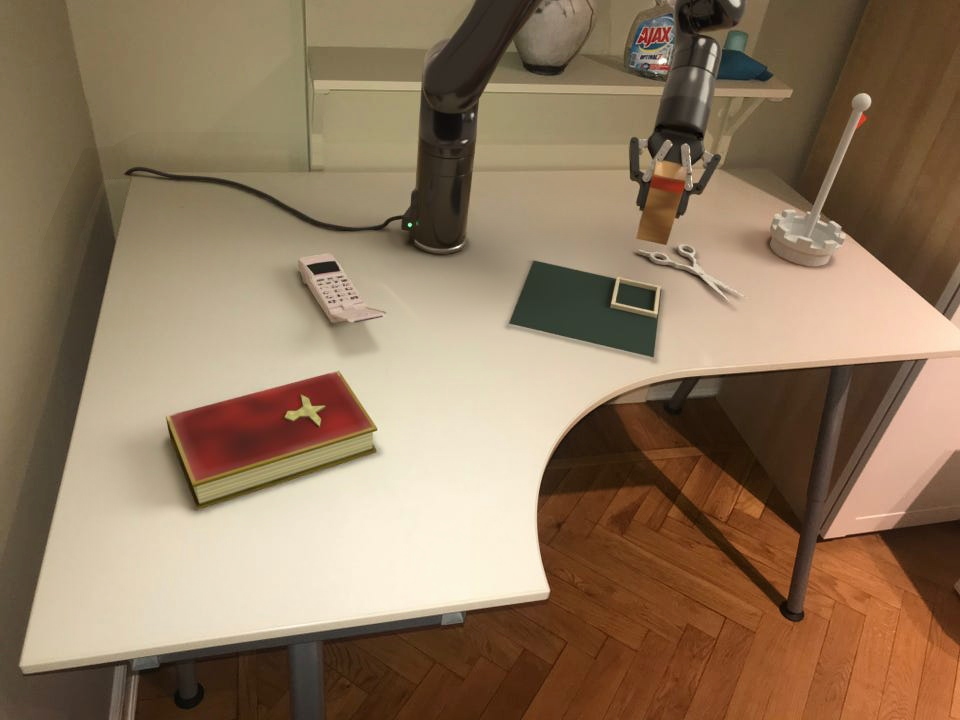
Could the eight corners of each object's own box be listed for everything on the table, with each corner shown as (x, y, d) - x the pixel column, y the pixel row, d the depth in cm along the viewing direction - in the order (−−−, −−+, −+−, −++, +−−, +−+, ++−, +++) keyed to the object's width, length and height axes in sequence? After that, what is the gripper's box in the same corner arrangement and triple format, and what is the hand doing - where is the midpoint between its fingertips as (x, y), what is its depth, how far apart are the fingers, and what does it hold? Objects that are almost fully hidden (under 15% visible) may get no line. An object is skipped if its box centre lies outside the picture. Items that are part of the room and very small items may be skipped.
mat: (508, 325, 115) (509, 318, 114) (533, 262, 131) (534, 256, 130) (652, 360, 112) (655, 353, 112) (660, 291, 128) (662, 284, 127)
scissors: (680, 239, 142) (763, 293, 129) (679, 242, 142) (761, 297, 130) (638, 249, 137) (719, 307, 124) (637, 253, 137) (718, 311, 125)
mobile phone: (348, 321, 102) (290, 232, 118) (347, 356, 105) (291, 265, 122) (389, 313, 104) (327, 227, 121) (387, 348, 108) (327, 259, 124)
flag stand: (812, 276, 138) (884, 113, 119) (751, 244, 145) (810, 86, 127) (847, 257, 145) (919, 101, 127) (787, 228, 152) (848, 76, 134)
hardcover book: (169, 438, 90) (164, 412, 87) (337, 392, 99) (337, 366, 97) (197, 510, 82) (192, 483, 79) (376, 452, 92) (377, 426, 89)
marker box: (636, 238, 115) (653, 173, 108) (639, 221, 119) (656, 158, 113) (666, 245, 114) (686, 180, 108) (669, 227, 119) (687, 164, 112)
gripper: (640, 85, 112) (613, 193, 110) (739, 103, 110) (713, 215, 108) (635, 108, 119) (610, 211, 117) (727, 127, 117) (703, 231, 115)
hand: (659, 212), depth 113 cm, fingers closed on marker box, 4 cm apart
